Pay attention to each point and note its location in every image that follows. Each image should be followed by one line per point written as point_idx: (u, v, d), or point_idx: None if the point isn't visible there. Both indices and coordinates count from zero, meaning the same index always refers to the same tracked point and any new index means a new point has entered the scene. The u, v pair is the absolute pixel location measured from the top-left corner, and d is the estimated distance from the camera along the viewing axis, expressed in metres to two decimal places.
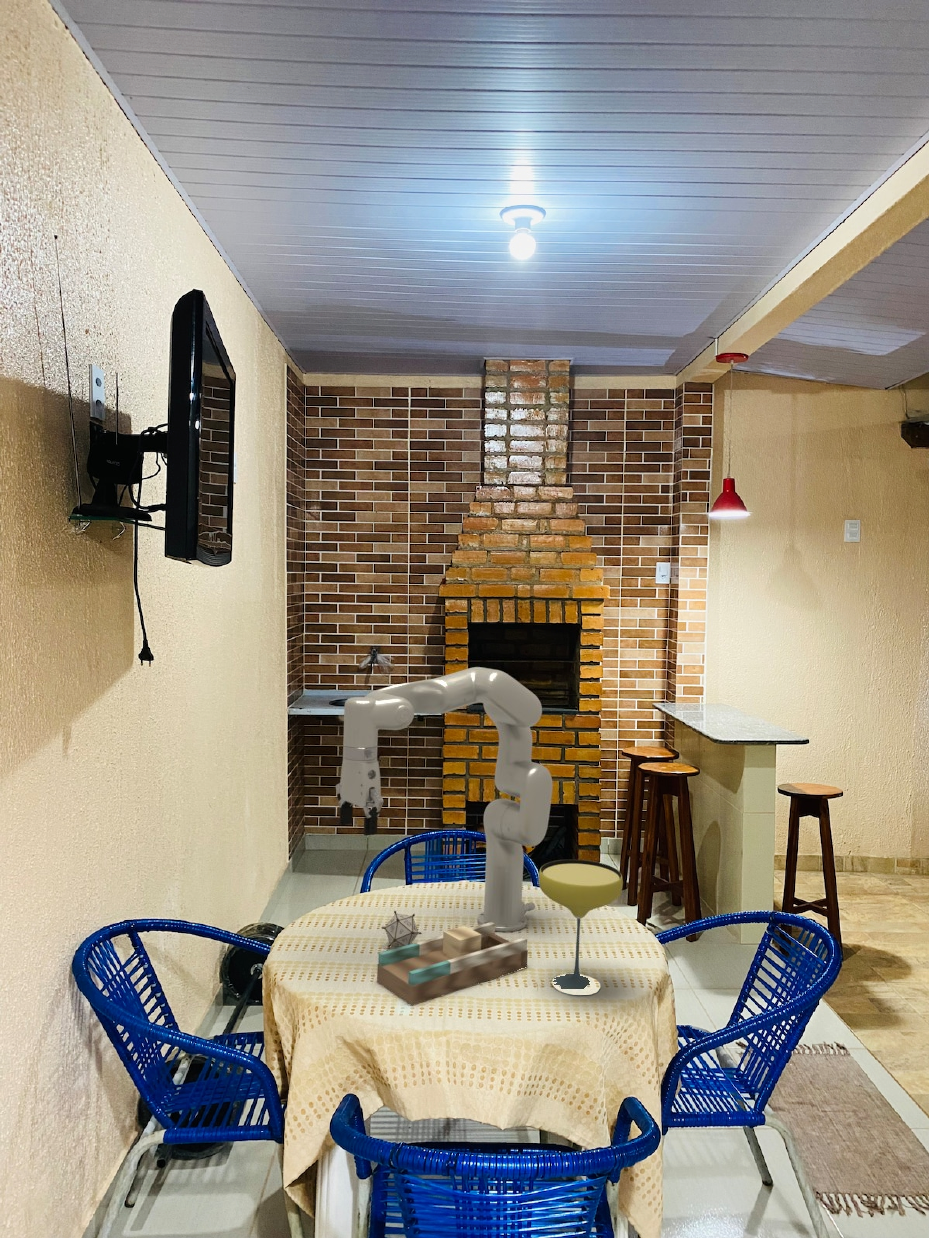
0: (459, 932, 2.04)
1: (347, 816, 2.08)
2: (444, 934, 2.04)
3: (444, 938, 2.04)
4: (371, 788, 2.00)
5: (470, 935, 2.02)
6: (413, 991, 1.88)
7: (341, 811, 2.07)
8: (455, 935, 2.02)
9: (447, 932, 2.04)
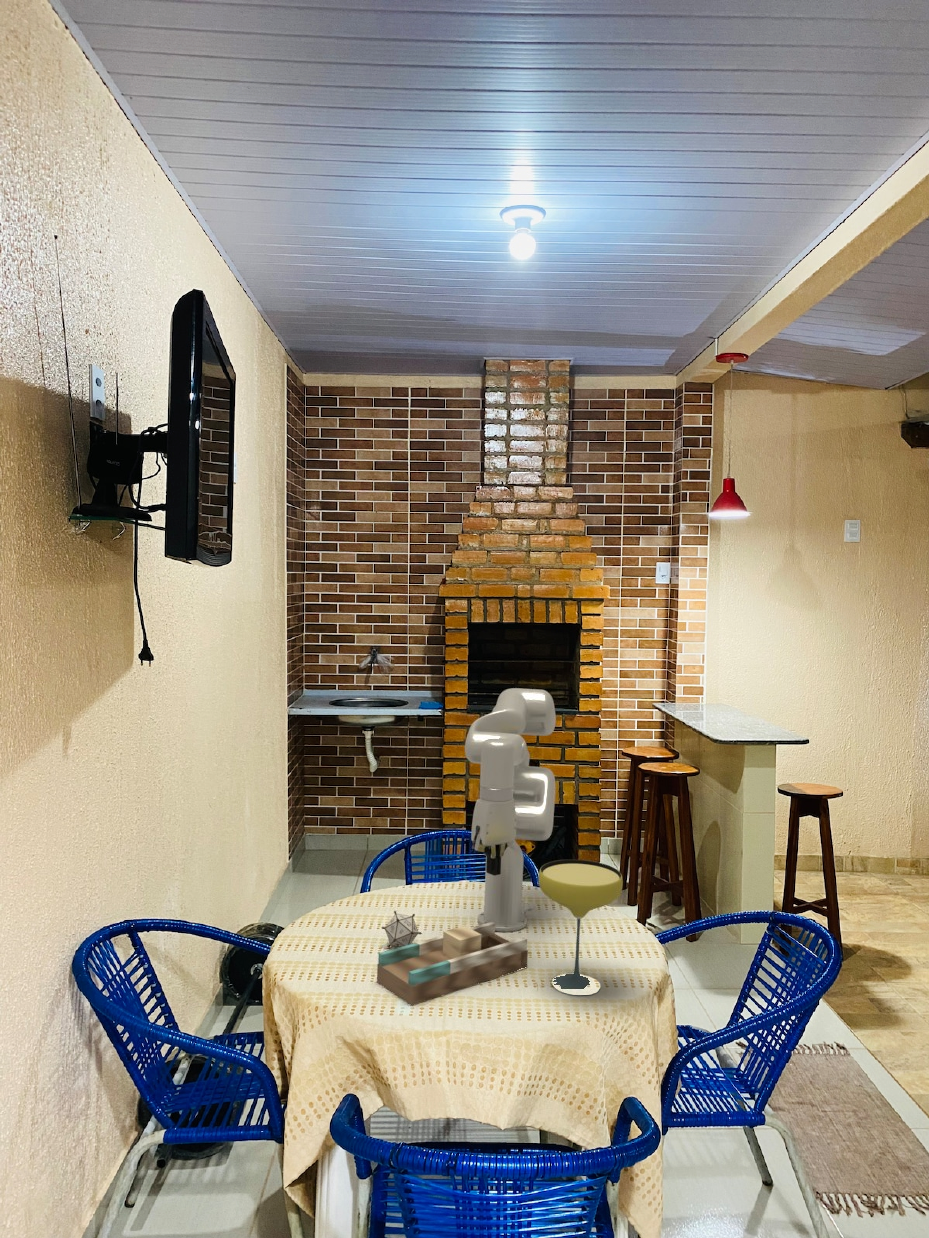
0: (459, 932, 2.04)
1: None
2: (444, 934, 2.04)
3: (444, 938, 2.04)
4: None
5: (470, 935, 2.02)
6: (413, 991, 1.88)
7: (497, 861, 2.07)
8: (455, 935, 2.02)
9: (447, 932, 2.04)
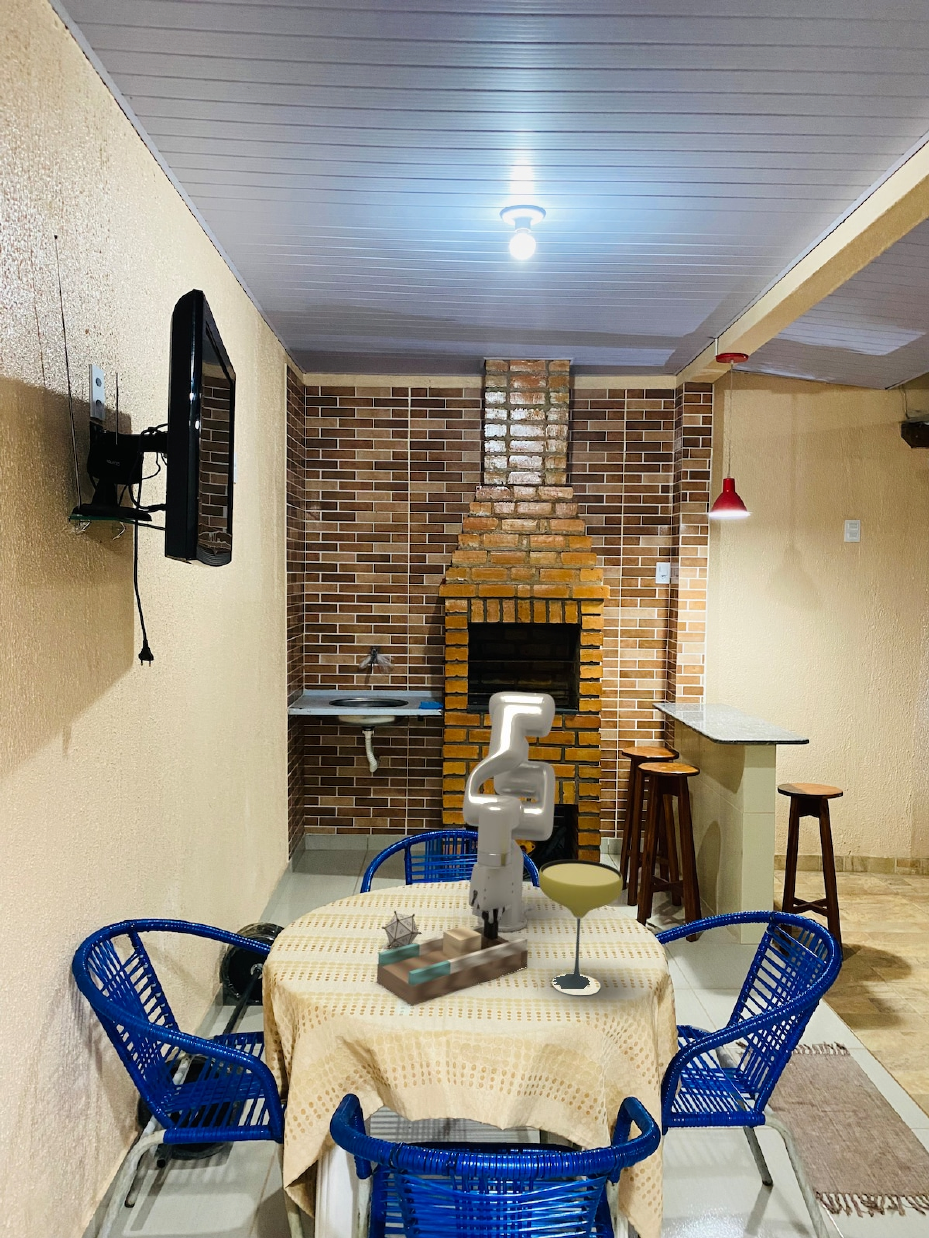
0: (459, 932, 2.04)
1: None
2: (444, 934, 2.04)
3: (444, 938, 2.04)
4: None
5: (470, 935, 2.02)
6: (413, 991, 1.88)
7: (494, 925, 2.07)
8: (455, 935, 2.02)
9: (447, 932, 2.04)
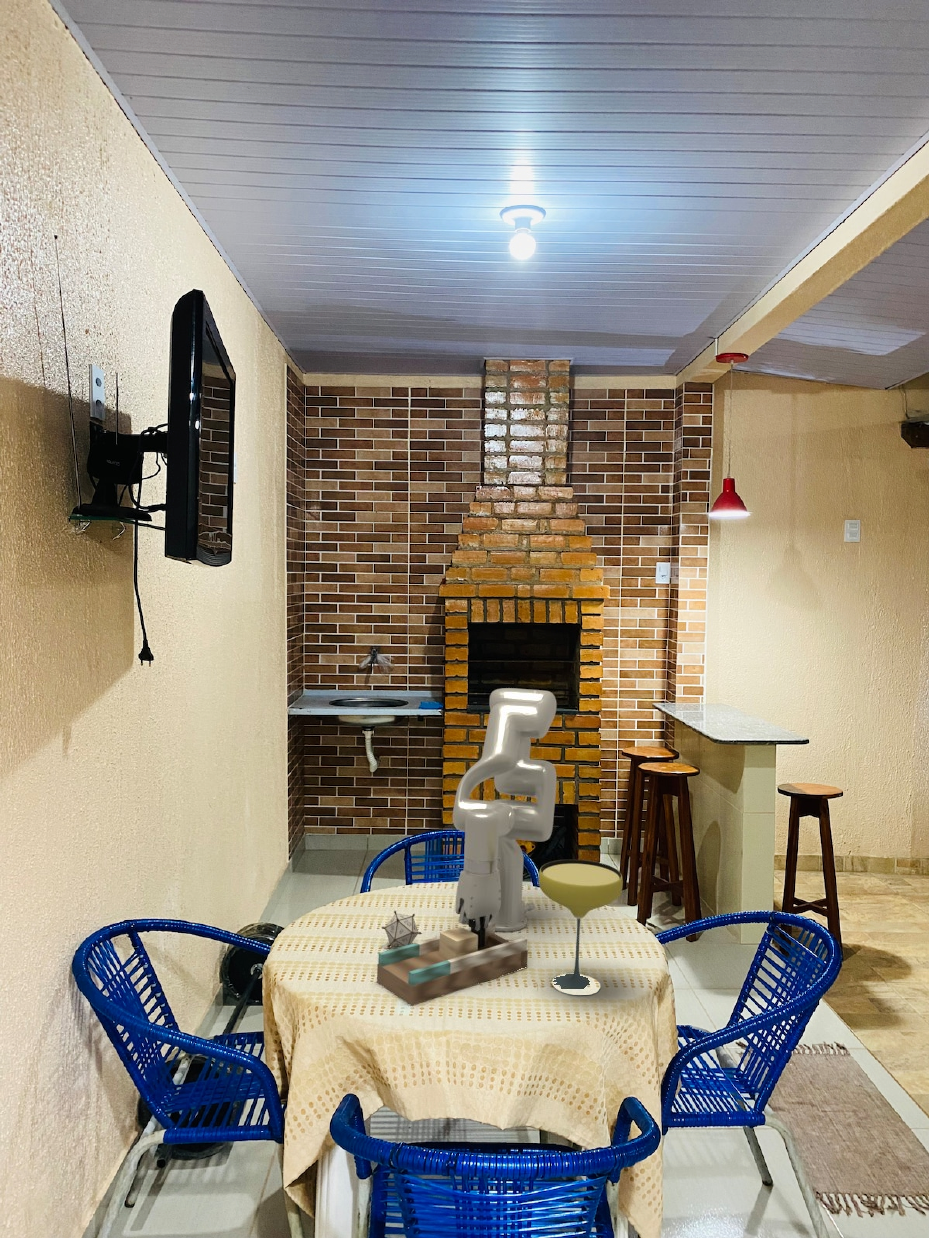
0: (456, 933, 2.03)
1: None
2: (441, 935, 2.03)
3: (441, 939, 2.03)
4: None
5: (467, 936, 2.02)
6: (413, 991, 1.88)
7: (481, 933, 2.05)
8: (452, 936, 2.01)
9: (443, 933, 2.03)
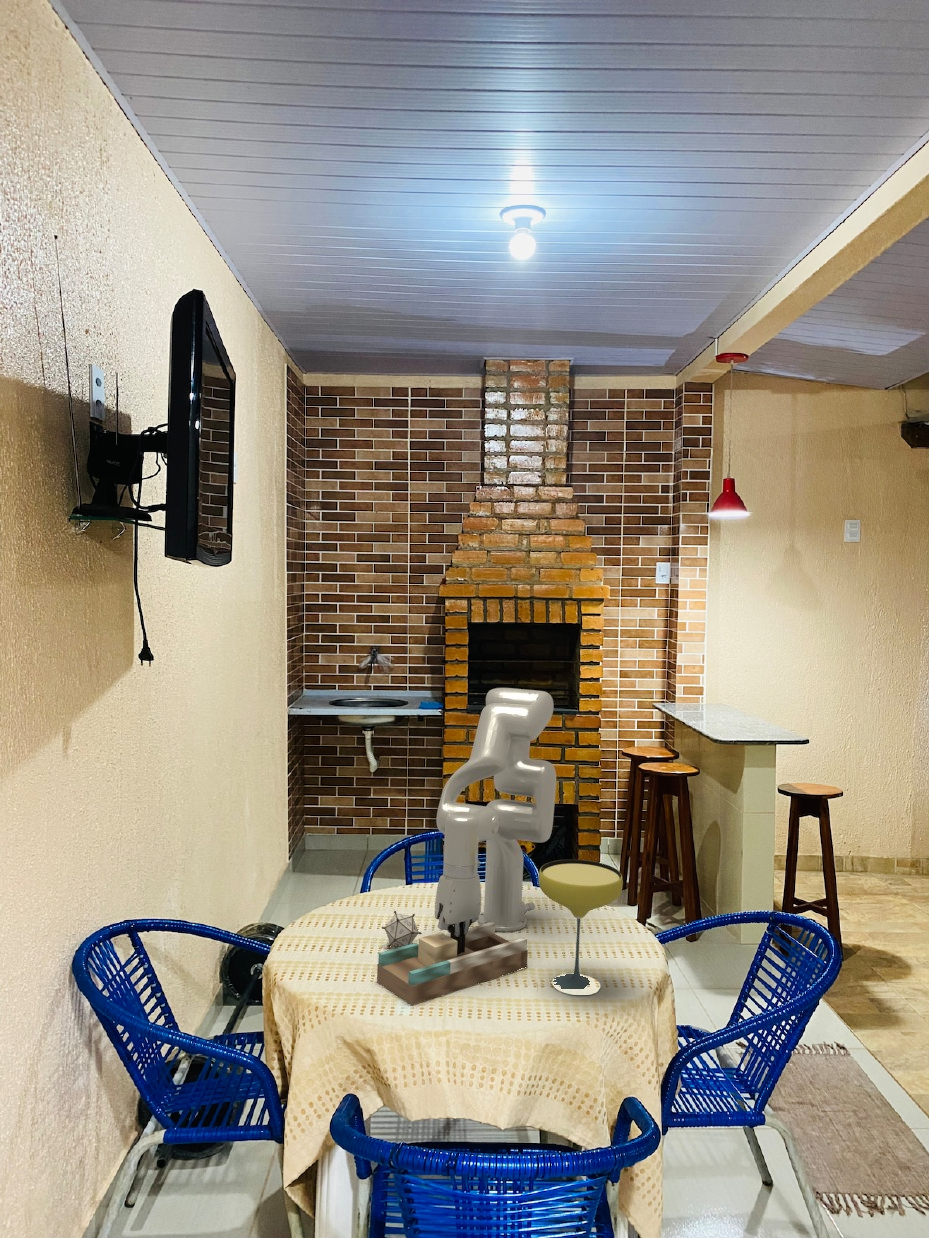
0: (434, 939, 1.99)
1: None
2: (419, 940, 1.99)
3: (419, 945, 1.99)
4: None
5: (446, 942, 1.98)
6: (413, 991, 1.88)
7: (461, 939, 2.01)
8: (431, 942, 1.98)
9: (422, 939, 1.99)
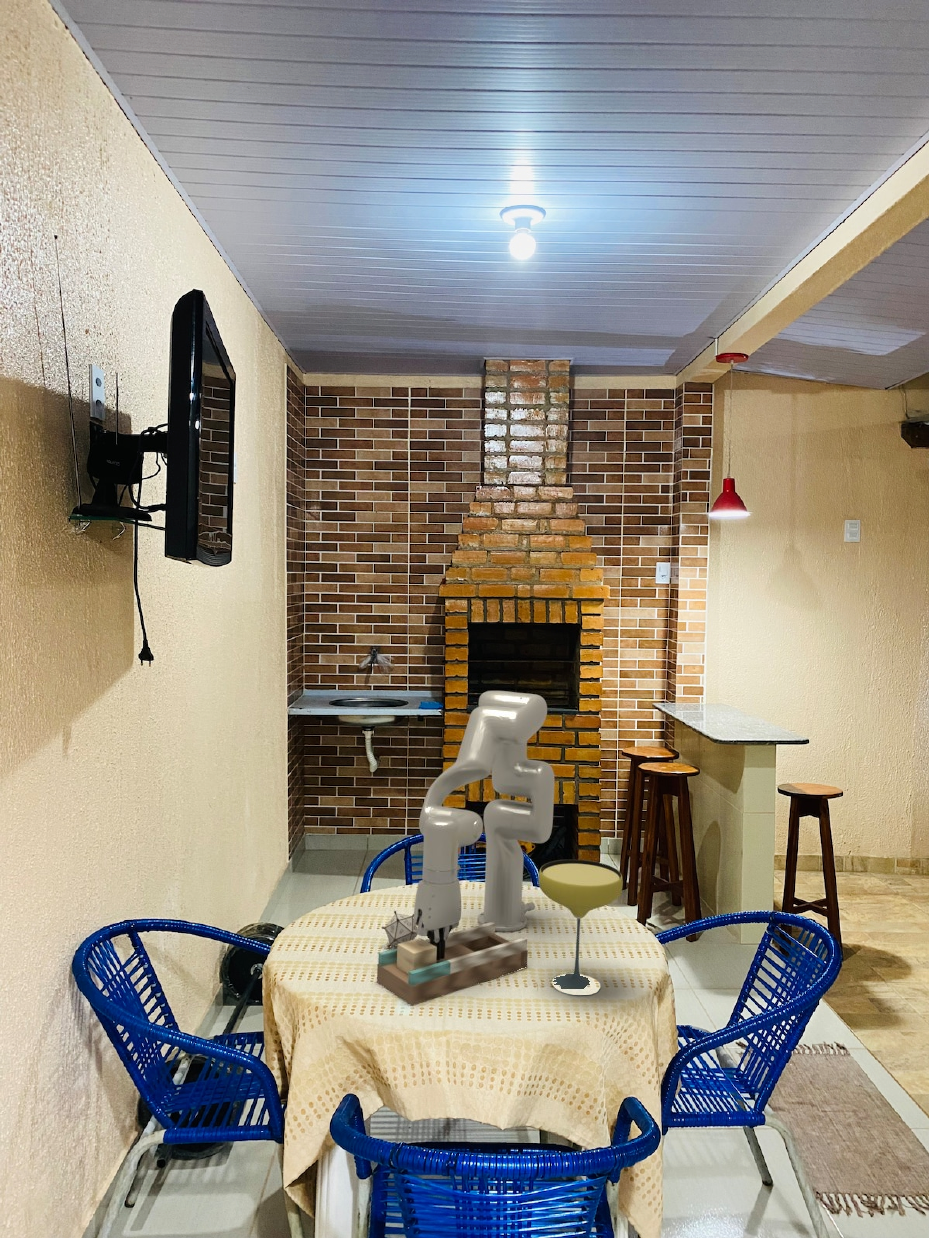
0: (414, 945, 1.96)
1: None
2: (398, 946, 1.96)
3: (398, 951, 1.96)
4: None
5: (425, 948, 1.94)
6: (413, 991, 1.88)
7: (440, 945, 1.98)
8: (410, 948, 1.94)
9: (401, 944, 1.96)
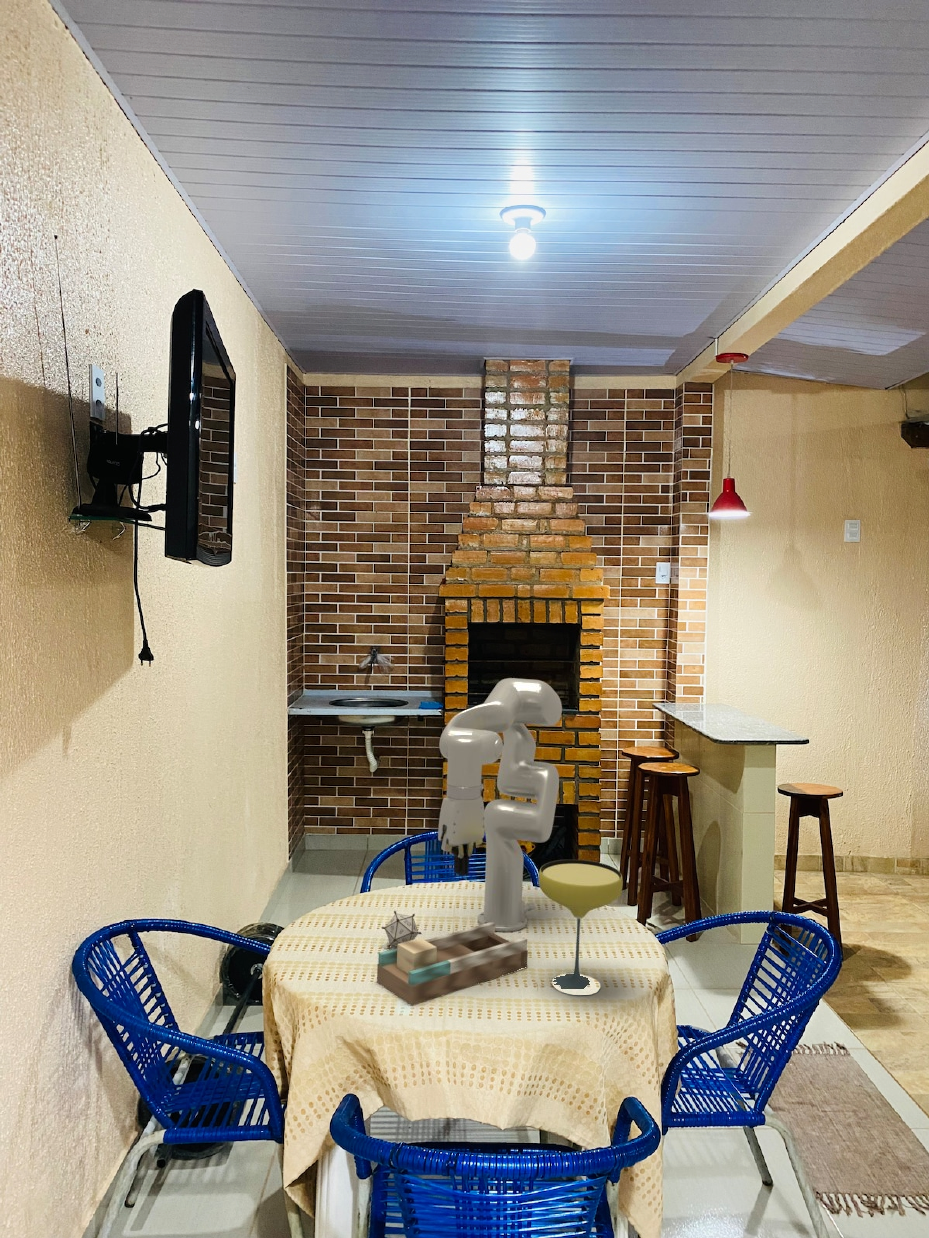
0: (414, 945, 1.96)
1: None
2: (398, 946, 1.96)
3: (398, 951, 1.96)
4: None
5: (425, 948, 1.94)
6: (413, 991, 1.88)
7: (464, 861, 2.01)
8: (410, 948, 1.94)
9: (401, 944, 1.96)
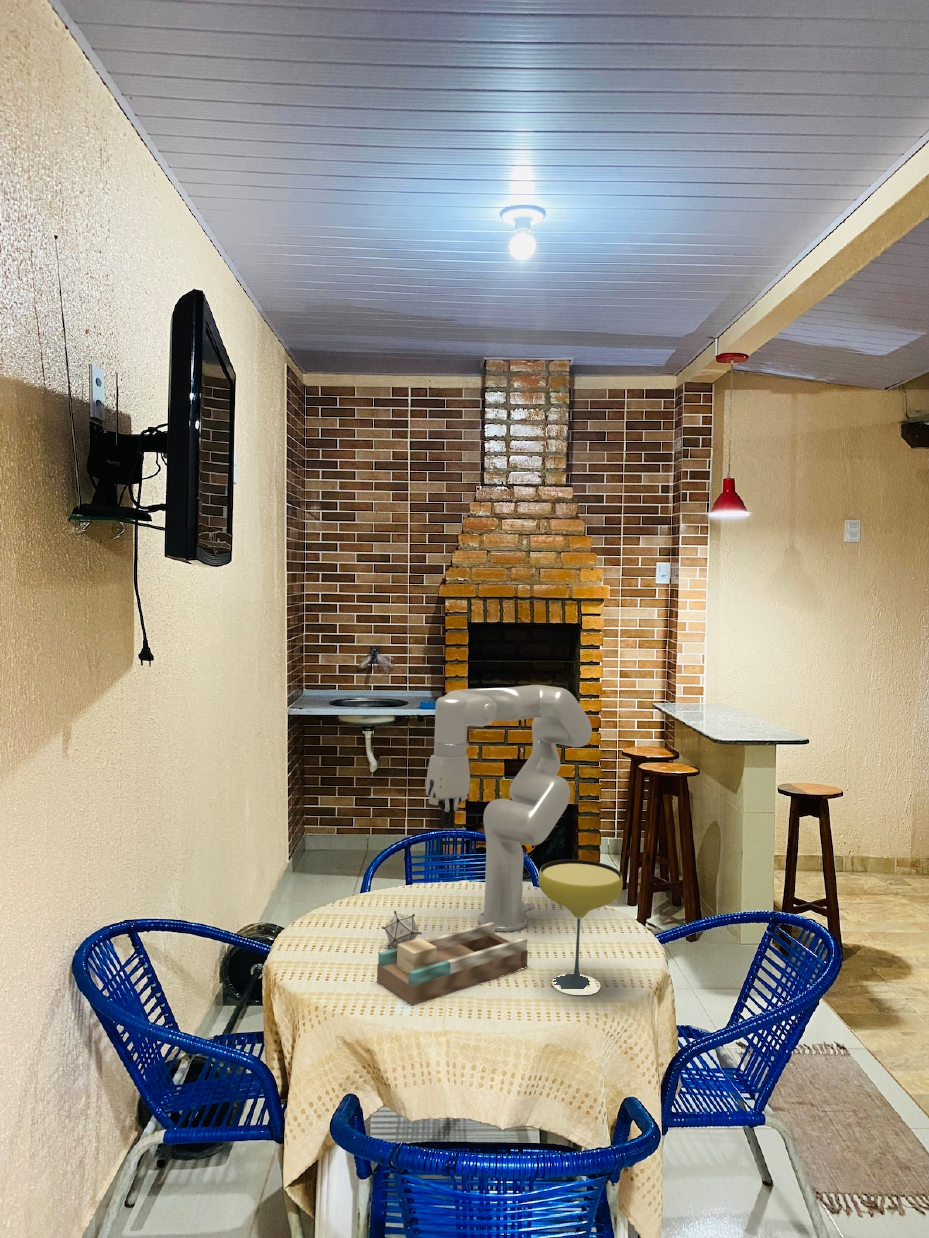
0: (414, 945, 1.96)
1: None
2: (398, 946, 1.96)
3: (398, 951, 1.96)
4: None
5: (425, 948, 1.94)
6: (413, 991, 1.88)
7: (450, 814, 2.14)
8: (410, 948, 1.94)
9: (401, 944, 1.96)
